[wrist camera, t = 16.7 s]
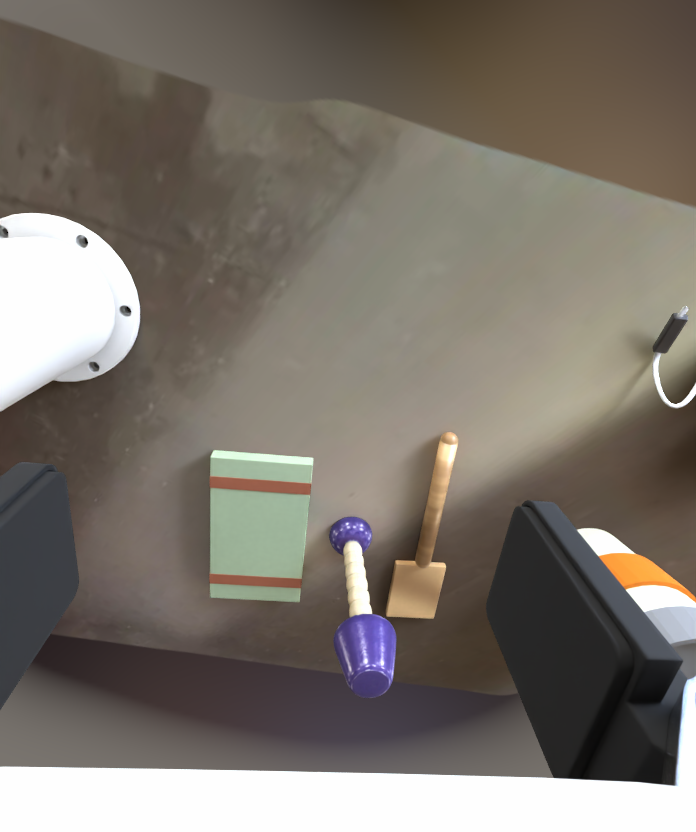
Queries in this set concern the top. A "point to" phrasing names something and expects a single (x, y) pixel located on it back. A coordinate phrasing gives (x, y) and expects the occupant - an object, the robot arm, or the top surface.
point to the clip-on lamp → (663, 346)
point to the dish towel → (258, 525)
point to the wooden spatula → (424, 548)
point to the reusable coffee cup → (652, 594)
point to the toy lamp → (361, 618)
